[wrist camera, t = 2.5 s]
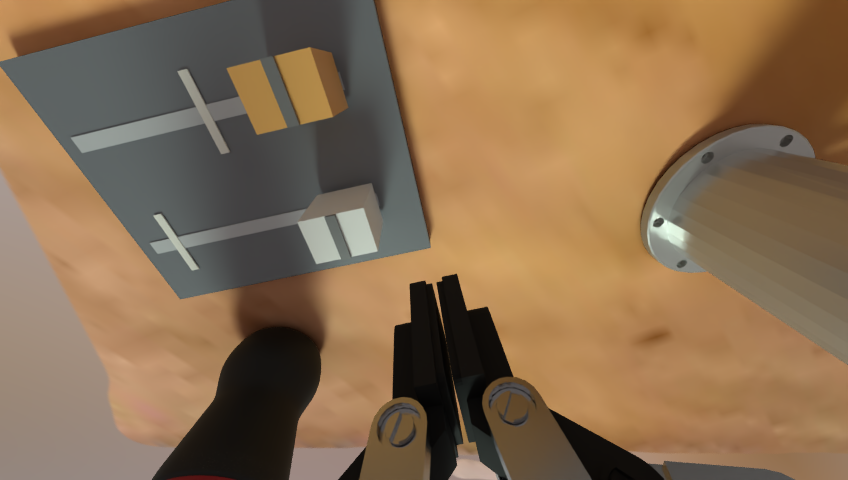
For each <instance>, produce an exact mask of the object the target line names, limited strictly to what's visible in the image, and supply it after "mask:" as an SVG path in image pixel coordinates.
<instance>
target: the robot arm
mask: <svg viewBox="0 0 848 480" xmlns="http://www.w3.org/2000/svg"><path fill="white" fill-rule="evenodd" d="M641 237H642V240H643V244H644V246H645V248H646V249H647V251H648V253H649V254H650V255H651V256H652V257H654V258H655V259H656V260H657V261H658V262H660V263H661V264H663V265H664V266H666V267H667V268H670V269H672V270H675V271H680V272H688V273H694V272H706V271H707V272H709V273H710V274H712V275H713V276H715V277H716V278H718V279H719V280H721V281H722V282H724V283H725V284H727V285H728V286H730V287H731V288H733V289H734V290H736V291H737V292H739V293H740V294H742V295H743V296H745V297H746V298H748V299H749V300H751V301H752V302H754V303H755V304H757V305H758V306H760V307H761V308H763V309H764V310H766V311H767V312H769V313H770V314H772V315H773V316H775V317H776V318H778V319H779V320H781V321H782V322H784V323H785V324H787V325H788V326H790V327H791V328H793V329H794V330H796V331H797V332H799V333H800V334H802V335H803V336H805V337H806V338H808V339H809V340H811V341H812V342H814V343H815V344H817V345H818V346H820V347H821V348H823V349H824V350H826V351H827V352H829V353H830V354H832V355H833V356H835V357H836V358H838V359H839V360H841V361H842V362H844V363H845V364H847V365H848V165H843V164H839V163H834V162H829V161H825V160H820V159H816V158H815V154H814V149H813V147H812V146H811V144H810V143H809V141H808V139H807V138H805V137H804V136H803V135H802V134H800V133H799V132H798V131H796V130H793V129H790V128H787V127H784V126H777V125H770V124H748V125H743V126H739V127H734V128H731V129H728V130H726V131H723V132H721V133H718V134H715V135H713V136H712V137H710V138H708V139H706V140H704V141H703V142H701V143H699V144H697V145H696V146H695V147H693V148H692V149H691V150H689V151H688V152H687V153H685V154H684V155H683V156H681V157H680V158H679V159H678V160H677V161H676V162H675V163H674V164H673V165H672V166H671V167H670V168H669V169H668V170H667V171H666V173H665V174H664V175H663V176H662V177H661V179H660V180H659V181H658V182H657V184H656V186H655V187H654V189H653V191H652V192H651V194H650V196H649V198H648V200H647V203H646V205H645V208H644V210H643V215H642V220H641ZM437 288H438V294H439V300H440V306H441V312H442V318H443V324H444V330H445V334H444V330H443V326H442V322H441V318H440V314H439V310H438V306H437V302H436V298H435V294H434V290H433V286H432V283H431V284H426V282H425V281H421V282H416V283H411V284H410V305H411V322H410V323H405V324H401V325H396V326H395V329H394V362H393V400H391V401H389V402H387V403H386V404H385V405H384V406H382V407H381V408H380V409H379V411H378V412H377V414H376V415H375V417H374V419H373V422H372V425H371V429H370V433H369V438H368V442H367V446H366V448H365V449H364V450H363V451H362V452H361V453H360V455H359V456H358V457H357V458H356V459H355V461H354V462H353V463H352V464H351V465H350V466H349V468H348V469H347V470H346V471H345V472H344V473H343V475H342V476H341V477H340V478H339V479H338V480H448V479H449V477H450V476H451V474H452V473H453V471H454V470H455V468H456V466H457V461H456V458H457V457H458V451H457V445H459V444H463V438H462V432H461V426H460V420H459V414H458V408H457V402H456V396H455V390H456V394H457V398H458V401H459V405H460V409H461V413H462V417H463V421H464V425H465V429H466V433H467V437H468V441H469V443H470V442H475V441H476V446H477V450H478V454H479V458H480V462H482V463H483V464H484V465H486V466H487V467H488V468H490V469H491V470H492V471H493V472H495V473H496V477H497V479H498V480H794V479H792V478H790V477H788V476H786V475H784V474H782V473H779V472H775V471H770V470H767V469H756V468H745V467H733V466H720V465H707V464H695V463H682V462H670V461H664V463H663V465H658V464H648V463H646V462H645V461H643V460H642V459H640V458H639V457H637V456H635V455H633V454H631V453H630V452H628V451H626V450H624V449H622V448H620V447H619V446H617V445H615V444H613V443H611V442H609V441H608V440H606V439H604V438H602V437H600V436H598V435H597V434H595V433H593V432H591V431H589V430H587V429H586V428H584V427H582V426H580V425H578V424H577V423H575V422H573V421H571V420H569V419H567V418H566V417H564V416H562V415H560V414H558V413H556V412H555V411H553V410H551V409H549V408H548V407H547V405H546V404H545V402H544V400H543V399H542V397H541V395H540V394H539V393H538V391H537V390H536V389H535V388H534V386H532V385H531V384H529V383H528V382H527V381H525V380H522V379H519V378H517V377H513V374H512V372H511V369H510V366H509V363H508V361H507V358H506V355H505V353H504V350H503V347H502V344H501V342H500V339H499V336H498V333H497V331H496V328H495V325H494V323H493V320H492V317H491V314H490V312H489V309H488V307H484V308H479V309H474V310H469V311H467V309H466V305H465V302H464V298H463V295H462V291H461V287H460V284H459V280H458V276H457V274H454V275H449V276H444V277H442V281H441V282H437ZM445 336H446V338H445ZM446 342H447V343H446ZM447 348H448V349H447ZM448 354H449V355H448ZM449 360H450V361H449ZM450 366H451V367H450ZM451 371H452V373H451ZM452 377H453V379H452ZM453 381H454V384H453ZM454 386H455V390H454Z"/></svg>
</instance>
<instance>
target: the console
mask: <svg viewBox="0 0 848 480" xmlns="http://www.w3.org/2000/svg"><path fill="white" fill-rule="evenodd" d="M308 47H311V48H315V49H319V50H323V51H327V52H331V53H332V55H333V59H334V62H335V65H336V68H337V72H338V75H339V78H340V82H341V85H342V88H343V91H344V95H345V98H346V101H347V104H348V108H347V109H345V110H344V111H342V112H340V113H339V114H337V115H335V116H334V117H330V118H326V119H322V120H318V121H314V122H309V123H305V124H301V125H298V126H294V127H289V128H284V129H280V130H275V131H271V132H267V133H263V134H259V135H257V134H256V132H255V129H254V127H253V125H252V123H251V121H250V119H249V116H248V114H247V112H246V110H245V108H244V105H243V103H242V101H241V99H240V97H239V95H238V92H237V90H236V88H235V86H234V84H233V81H232V79H231V77H230V75H229V73H228V71H227V68H229V67H233V66H237V65H241V64H245V63H249V62H253V61H257V60H260V59H262V58H266V57H270V56H277V55H281V54H285V53H288V52H292V51H296V50H300V49H304V48H308ZM0 66H1V68H2V69H3V70H4V72H5V73H6V74H7V76H8V77H9V78H10V79H11V81H12V82H13V83H14V85H15V86H16V87H17V88H18V90H19V91H20V92H21V94H22V95H23V96H24V98H25V99H26V100H27V101H28V103H29V104H30V105H31V107H32V108H33V109H34V110H35V112H36V113H37V114H38V116H39V117H40V118H41V120H42V121H43V122H44V123H45V125H46V126H47V127H48V129H49V130H50V131H51V132H52V134H53V135H54V136H55V138H56V139H57V140H58V142H59V143H60V144H61V145H62V147H63V148H64V149H65V151H66V152H67V153H68V154H69V156H70V157H71V158H72V160H73V161H74V162H75V164H76V165H77V166H78V167H79V169H80V170H81V171H82V173H83V174H84V175H85V176H86V178H87V179H88V180H89V182H90V183H91V184H92V186H93V187H94V188H95V189H96V191H97V192H98V193H99V195H100V196H101V197H102V198H103V200H104V201H105V202H106V204H107V205H108V206H109V208H110V209H111V210H112V211H113V213H114V214H115V215H116V217H117V218H118V219H119V220H120V222H121V223H122V224H123V226H124V227H125V228H126V230H127V231H128V232H129V233H130V235H131V236H132V237H133V239H134V240H135V241H136V242H137V244H138V245H139V246H140V248H141V249H142V250H143V252H144V253H145V254H146V255H147V257H148V258H149V259H150V261H151V262H152V263H153V264H154V266H155V267H156V268H157V270H158V271H159V272H160V274H161V275H162V276H163V277H164V279H165V280H166V281H167V283H168V284H169V285H170V286H171V288H172V289H173V290H174V292H175V293H176V294H177V296H178V297H179V298H180V299H184V298H189V297H194V296H198V295H203V294H208V293H213V292H218V291H223V290H228V289H233V288H237V287H242V286H247V285H252V284H257V283H262V282H267V281H272V280H276V279H281V278H286V277H291V276H296V275H301V274H306V273H310V272H315V271H320V270H325V269H330V268H335V267H340V266H345V265H349V264H354V263H359V262H364V261H369V260H374V259H379V258H384V257H388V256H393V255H398V254H403V253H408V252H413V251H418V250H422V249H427V248H431V246H430V239H429V235H428V231H427V226H426V222H425V218H424V213H423V209H422V205H421V200H420V196H419V192H418V187H417V183H416V179H415V174H414V170H413V166H412V161H411V157H410V153H409V148H408V144H407V140H406V135H405V131H404V127H403V122H402V118H401V114H400V109H399V105H398V101H397V96H396V92H395V88H394V83H393V79H392V75H391V71H390V66H389V62H388V58H387V53H386V49H385V45H384V40H383V36H382V32H381V27H380V23H379V19H378V14H377V10H376V6H375V1H374V0H231V1H227V2H223V3H219V4H216V5H212V6H208V7H204V8H201V9H197V10H193V11H189V12H186V13H182V14H178V15H174V16H170V17H167V18H163V19H159V20H155V21H152V22H148V23H144V24H140V25H137V26H133V27H129V28H125V29H121V30H118V31H114V32H110V33H106V34H103V35H99V36H95V37H91V38H88V39H84V40H80V41H76V42H73V43H69V44H65V45H61V46H57V47H54V48H50V49H46V50H42V51H39V52H35V53H31V54H27V55H24V56H20V57H16V58H12V59H8V60H5V61H1V62H0ZM369 183H372V186H373V189H374V193H375V196H376V199H377V202H378V206H379V209H380V212H381V216H382V219H383V224H382V230H381V236H380V242H379V248H378V251H377V252H373V253H368V254H363V255H358V256H353V257H351V259H347V260H341V259H339V260H334V261H329V262H324V263H319V264H316V262H315V260H314V258H313V256H312V253H311V251H310V249H309V247H308V245H307V243H306V240H305V238H304V236H303V234H302V232H301V230H300V227H299V225H298V223H297V222H298V220H299V219H300V218H301V216H302V215H303V214H304V212H305V211H306V209H307V208H308V207H309V205H310V204H311V203H312V201H313V200H314V199H315V197H316V196H317V195H319V194H324V193H328V192H333V191H337V190H342V189H347V188H351V187H356V186H360V185H365V184H369Z"/></svg>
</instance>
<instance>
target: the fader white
mask: <svg viewBox="0 0 848 480" xmlns="http://www.w3.org/2000/svg"><path fill="white" fill-rule="evenodd" d="M297 223H298V225H299V227H300V230H301V232H302V234H303V236H304V238H305V240H306V243H307V245H308V247H309V249H310V251H311V253H312V256H313V258H314V260H315V262H316V264H319V263H324V262H329V261H334V260H339V259H341V260H347V259H351V257H353V256H358V255H363V254H368V253H373V252H377V251H378V248H379V242H380V236H381V230H382V224H383V219H382V216H381V212H380V209H379V206H378V202H377V199H376V196H375V193H374V189H373V186H372V183H369V184H365V185H360V186H356V187H351V188H347V189H342V190H337V191H333V192H328V193H324V194H319V195H317V196H316V197H315V199H314V200H313V201H312V203H311V204H310V205H309V207H308V208H307V209H306V211H305V212H304V214H303V215H302V216H301V218H300V219H299V220H298V222H297Z"/></svg>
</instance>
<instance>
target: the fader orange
mask: <svg viewBox="0 0 848 480" xmlns="http://www.w3.org/2000/svg"><path fill="white" fill-rule="evenodd" d="M227 71H228V73H229V75H230V77H231V79H232V81H233V84H234V86H235V88H236V90H237V92H238V95H239V97H240V99H241V101H242V103H243V105H244V108H245V110H246V112H247V114H248V116H249V119H250V121H251V123H252V125H253V127H254V129H255V132H256V134H257V135H259V134H263V133H267V132H271V131H275V130H280V129H284V128H289V127H294V126H298V125H301V124H305V123H309V122H314V121H318V120H322V119H326V118H330V117H334V116H335V115H337V114H339V113H340V112H342V111H344V110H345V109H347V108H348V104H347V101H346V98H345V95H344V91H343V88H342V85H341V82H340V78H339V75H338V72H337V68H336V65H335V62H334V59H333V55H332V53H331V52H327V51H323V50H319V49H315V48H311V47H308V48H304V49H300V50H296V51H292V52H288V53H285V54H281V55H277V56H270V57H266V58H262V59H260V60H257V61H253V62H249V63H245V64H241V65H237V66H233V67H229V68H227Z"/></svg>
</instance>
